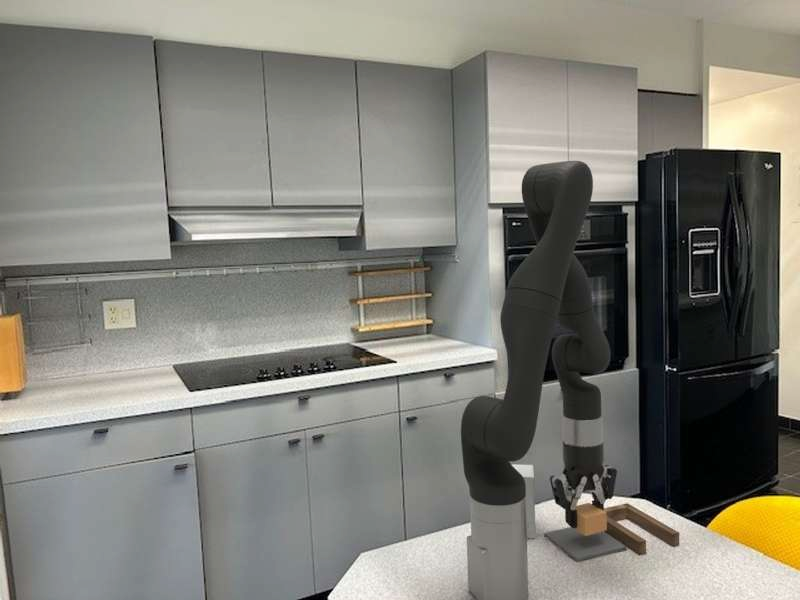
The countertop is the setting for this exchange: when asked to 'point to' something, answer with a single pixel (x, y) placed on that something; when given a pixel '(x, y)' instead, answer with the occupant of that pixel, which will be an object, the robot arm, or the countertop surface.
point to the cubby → (641, 520)
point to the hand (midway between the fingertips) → (584, 523)
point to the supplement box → (528, 496)
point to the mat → (584, 543)
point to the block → (590, 519)
